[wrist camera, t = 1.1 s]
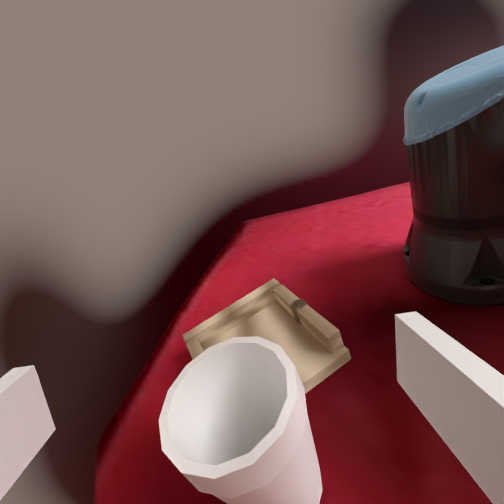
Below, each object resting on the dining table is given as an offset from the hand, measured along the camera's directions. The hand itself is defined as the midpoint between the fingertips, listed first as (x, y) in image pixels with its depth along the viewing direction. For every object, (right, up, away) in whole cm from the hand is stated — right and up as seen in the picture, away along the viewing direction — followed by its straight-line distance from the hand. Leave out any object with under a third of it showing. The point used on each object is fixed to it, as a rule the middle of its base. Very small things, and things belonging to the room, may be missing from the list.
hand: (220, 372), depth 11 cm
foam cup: (+4, -15, +15) cm, 22 cm away
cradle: (+3, -9, +27) cm, 28 cm away
